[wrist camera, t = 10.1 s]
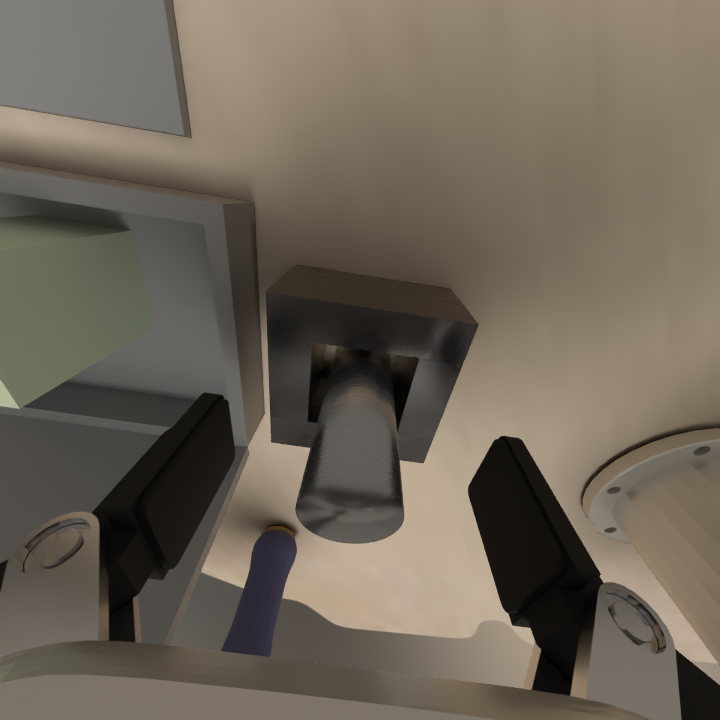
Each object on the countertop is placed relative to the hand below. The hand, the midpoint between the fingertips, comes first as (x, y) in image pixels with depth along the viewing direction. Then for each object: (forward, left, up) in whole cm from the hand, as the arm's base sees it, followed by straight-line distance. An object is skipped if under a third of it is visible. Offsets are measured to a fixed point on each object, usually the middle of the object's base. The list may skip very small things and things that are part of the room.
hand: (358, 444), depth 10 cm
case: (+14, 0, -7) cm, 16 cm away
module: (+14, -2, -7) cm, 16 cm away
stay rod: (0, 0, -7) cm, 7 cm away
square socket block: (0, 0, -7) cm, 7 cm away
